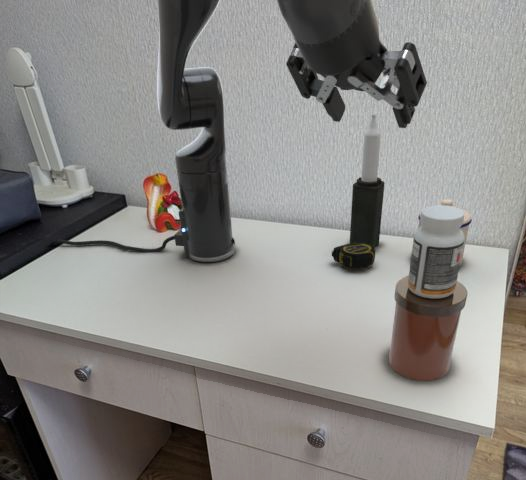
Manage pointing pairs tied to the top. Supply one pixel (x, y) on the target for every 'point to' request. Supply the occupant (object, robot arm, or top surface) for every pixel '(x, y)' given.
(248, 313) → the top surface
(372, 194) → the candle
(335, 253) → the tape measure
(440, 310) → the jar
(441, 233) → the pill bottle
